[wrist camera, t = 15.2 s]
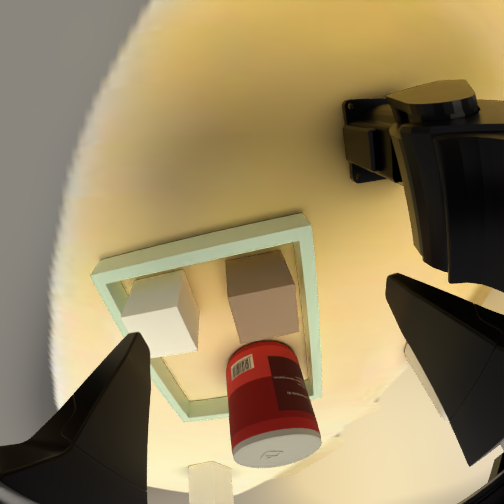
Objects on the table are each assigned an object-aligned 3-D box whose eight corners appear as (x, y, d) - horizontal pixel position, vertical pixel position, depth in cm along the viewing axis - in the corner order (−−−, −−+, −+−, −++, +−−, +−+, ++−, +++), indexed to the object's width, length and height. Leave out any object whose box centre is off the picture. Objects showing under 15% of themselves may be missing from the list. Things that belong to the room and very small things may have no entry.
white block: (183, 269, 23) (176, 306, 19) (199, 310, 25) (197, 350, 21) (135, 280, 23) (120, 317, 19) (154, 319, 25) (145, 359, 21)
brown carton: (280, 249, 23) (294, 283, 19) (285, 293, 25) (299, 331, 21) (225, 260, 23) (227, 297, 19) (236, 304, 25) (240, 343, 21)
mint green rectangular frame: (301, 212, 22) (311, 225, 20) (316, 381, 32) (322, 397, 30) (100, 260, 22) (90, 275, 20) (184, 406, 32) (183, 422, 30)
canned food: (222, 384, 30) (228, 470, 21) (229, 337, 27) (238, 437, 17) (286, 384, 32) (306, 464, 22) (304, 338, 28) (336, 429, 19)
